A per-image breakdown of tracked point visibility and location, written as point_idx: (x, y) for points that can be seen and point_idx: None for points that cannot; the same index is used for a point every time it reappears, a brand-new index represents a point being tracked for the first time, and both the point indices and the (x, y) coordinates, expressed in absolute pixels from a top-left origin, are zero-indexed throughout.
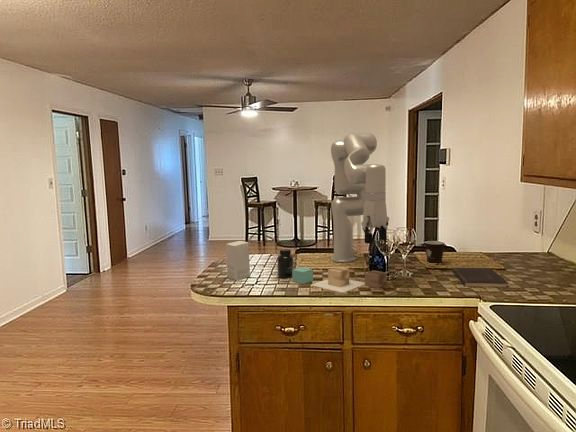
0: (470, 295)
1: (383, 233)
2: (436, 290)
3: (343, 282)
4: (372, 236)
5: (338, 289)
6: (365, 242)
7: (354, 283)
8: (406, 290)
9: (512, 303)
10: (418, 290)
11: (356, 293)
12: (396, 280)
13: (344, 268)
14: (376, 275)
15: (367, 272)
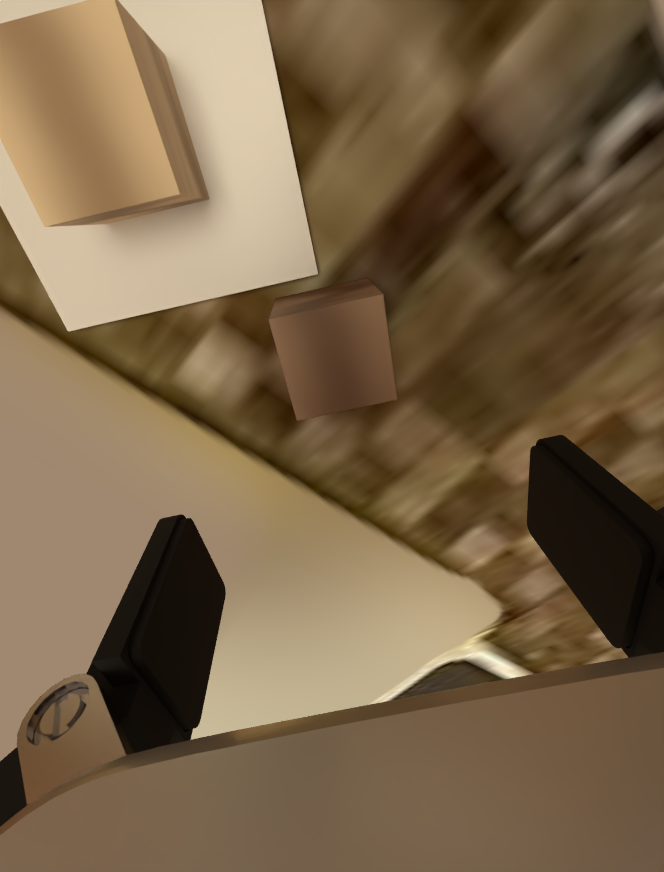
0: (515, 597)
1: (585, 575)
2: (496, 516)
3: (134, 215)
4: (208, 678)
5: (71, 264)
6: (166, 528)
7: (244, 220)
8: (409, 454)
9: (515, 672)
10: (446, 481)
11: (169, 349)
12: (535, 301)
13: (148, 137)
14: (294, 411)
15: (300, 315)
